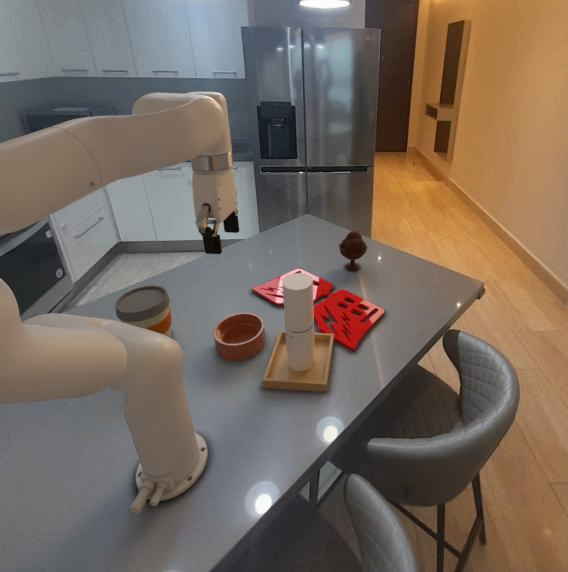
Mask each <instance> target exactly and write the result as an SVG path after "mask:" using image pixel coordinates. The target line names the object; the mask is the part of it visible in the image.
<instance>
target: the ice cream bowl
mask: <svg viewBox="0 0 568 572" xmlns="http://www.w3.org/2000/svg"><path fill="white" fill-rule="evenodd" d="M367 245H368V244H367V243H365V241H364V239H363V236H362V233H360V232H359V231H356V230H352V231H349V232H348V233H347V234H346V236H345V238H343V239H342V241H341V242H340V243H339V244H338V247H339V252H340V255H342V257H344V258H346V259H347V260H349V261H350V262H349V263H347V264H346V265H345V269H346V270H347V271H350V272H356V271H358V270H360V266H359V264H358V263H356V260H360V259H361V258H362V257H363V256H364V255H365V254H366V253H367V251H368V246H367Z"/></svg>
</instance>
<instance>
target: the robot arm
mask: <svg viewBox="0 0 568 572" xmlns="http://www.w3.org/2000/svg"><path fill="white" fill-rule="evenodd" d="M228 111H229V110H228V104H227V100H226V97H225V96H224V94H222V93H220V92H217V91H189V92H186V93H181V92H180V93H179V92H178V93H177V92H149V93H147V94H143V95H142V96H140V97H139V98H138V99H137V100H136V101H135V103H134V104H133V106H132V109H131V114H128V115H126V114H125V115H95V116H86V117H79V118H78V117H77V118H72V119H70V120H66V121H63V122H60V123H58V124H55V125H51V126H48V127H46V128H43V129H40V130H39V129H38V130H37V131H34V132H30V133H28V134H25V135H22V136H18V137H14V138H12V139H9V140H6V141H3V142H0V236H1V235H7V234H12V233H15V232H18V231H21V230H23V229H26V228H28V227H31V226H32V225H33V224H35V223H38V222H40V221H42V220H44V219H45V218H47V217H49V216H51V215H53V214H55V213H57V212H58V211H61V210H62V209H64V208H66V207H68V206H70V205H72V204H74V203H76V202H77V201H79V200H81V199H83V198H85V197H87V196H89V195H91V194H93V193H94V192H97V191H98V190H101V189H102V188H104V187H107V186H108V185H110V184H112V183H114V182H117V181H119V180H123V179H128V178H133V177H137V176H141V175H145V174H148V173H152V172H154V171H158V170H162V169H167V168H169V167H173V166H177V165H179V164H183V163H185V162H188V161H190V166H191V171H192V172H193V173H192V178H191V179H192V181H191V183H192V200H193V208H194V209H193V210H194V216H195V226H196V227H197V229H198V230H197V231H198V233H199V234H200V236H201V237H202V242H203V249H204V253H205V254H206V255H221V254H222V253H223V248H222V241H221V235H220V234H218V233H219V227H220V224H221V223H222V224H223V230H224V232H225V233H232V234H238V233H239V232H240V223H239V215H238V214H239V210H238V207H237V206H238V198H237V197H238V191H237V189H236V183H235V182H236V181H235V178H234V172H233V170H234V169H235V165H234V155H233V147H232V138H231V128H230V119H229V112H228ZM209 225H213V227H212V228H211V227H210V226H209ZM183 373H184V352H183V348H182V346H181V345H180V344H179V343H178V341H176V340H175V339H173V338H172V337H171V338H170V337H168V336H166V335H163V334H160V333H157V332H154V331H151V330H148V329H144V328H140V327H136V326H133V325H130V324H126V323H123V322H121V321H120V320H119V321H118V320H114V319H108V318H102V317H101V318H99V317H91V316H82V315H76V314H67V313H59V312H58V313H57V312H51V313H50V312H49V313H43V314H39V315H35V316H32V317H30V318H28V319H25V320H23V321H22V319H21V316H20V308H19V305H18V302H17V298H16V296H15V294H14V292H13V290H12V289H11V288H10V287H9V284H7V283H6V282H5V281H4V279H2V278H1V277H0V405H6V404H24V403H35V402H46V401H55V400H56V401H57V400H66V399H67V400H68V399H78V398H83V397H89V396H92V395H96V394H98V393H101V392H103V391H105V390H107V389H108V388H113V389H116V390H117V391H119V392H121V393H122V394H123V395H125V396H126V401H125V403H124V406H123V417H124V420H125V423H126V425H127V429H128V430H129V433H130V436H131V439H132V442H133V445H134V448H135V451H136V454H137V456H138V460H139V463H138V466H137V468H136V472H135V485H136V487H137V490H138V493H137V495H136V497H134V500H133V502H132V504H131V505H130V506H129V512H131V513H132V514H135V515H139V514H140V513H142V511H143V509H144V507H145V505H146V504H147V502H148V501H147V500H149V505H150V506H152V507H157V506H158V505H159V503H160V501H161V502H162V501H166V500H167V501H168V500H170V499H173V498H176V497H178V496H179V495H182V494H183V493H184V492H186V491H187V490H189V489H190V488H191V487H192V486H193V485H194V484H196V482H197V481H198V479H199V478H200V477H201V475H202V474H203V472H204V470H205V467H206V465H207V461H208V458H209V450H208V445H207V442H206V441H205V439H204V437H202V436H201V435H200V434H199V433H197V432H195V428H194V424H193V419H192V414H191V411H190V406H189V402H188V397H187V393H186V389H185V384H184V374H183Z"/></svg>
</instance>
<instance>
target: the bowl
mask: <svg viewBox="0 0 568 572" xmlns="http://www.w3.org/2000/svg"><path fill="white" fill-rule="evenodd" d="M213 340H214V345H215V351H216V354H217V355H218V357H220V358H221V360H224V361H227V362H230V363H231V362H232V363H237V362H238V363H239V362H244V361H247V360H250V359H252V358H254V357H256V356H257V355H258V354H259V353H261V351H262V350H263V349H264V348H265V344H266V331H265V322H264V320H263V318H262V317H261V316H259V315H258V314H255V313H252V312H239V313H234V314H231V315H228V316H226V317H225V318H222V319H221V320H220V321H219V322H218V323H216V325H215V327H214V330H213Z"/></svg>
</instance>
